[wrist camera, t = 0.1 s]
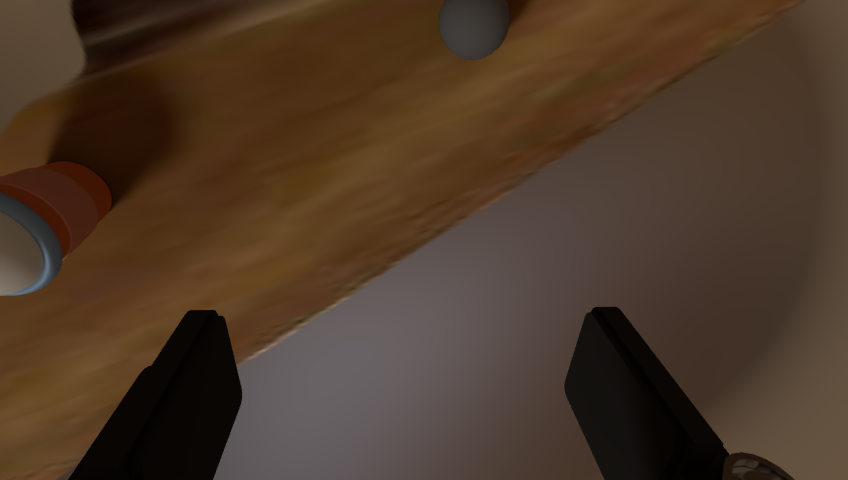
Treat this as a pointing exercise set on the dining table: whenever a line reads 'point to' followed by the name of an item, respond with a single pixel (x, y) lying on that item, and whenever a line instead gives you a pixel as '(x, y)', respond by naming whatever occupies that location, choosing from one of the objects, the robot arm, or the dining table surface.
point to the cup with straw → (46, 221)
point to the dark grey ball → (474, 26)
